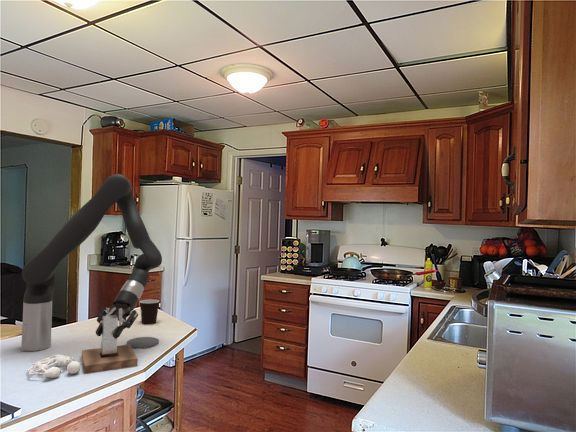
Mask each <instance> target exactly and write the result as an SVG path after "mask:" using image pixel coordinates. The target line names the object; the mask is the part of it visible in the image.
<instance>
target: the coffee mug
mask: <svg viewBox="0 0 576 432" xmlns="http://www.w3.org/2000/svg"><path fill="white" fill-rule="evenodd" d="M159 307H160V300H159V299H143V300H140V301H139V308H140V316H141V317H140V318H141V324H142V325H154V324H156V323H157V321H158V320H157V319H158V313H159Z"/></svg>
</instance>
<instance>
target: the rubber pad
mask: <svg viewBox="0 0 576 432" xmlns="http://www.w3.org/2000/svg"><path fill="white" fill-rule="evenodd" d="M159 343H160V339H158V338H156V337H153V336H142V337H141V336H140V337H139V336H138V337H133V338H130V339H129V340H127V341H126V345H129V344H130V346H131V347H132V349H136V348H142V349H148V348H149V349H150V348H152V347H153V348H154V347H156V346H157V345H159Z"/></svg>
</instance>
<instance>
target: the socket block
mask: <svg viewBox="0 0 576 432" xmlns="http://www.w3.org/2000/svg"><path fill="white" fill-rule="evenodd" d="M80 358H81V364H82V367H83V373H84V374H92V373H97V372H99V373H100V372H106V371H110V370H111V371H113V370H119V369H125V368H131V367H132V368H133V367H137V366H138V364H139V363H138V360H139V359H138V356H137V355H136V353H135V351H134V348H132V347H131V346H130V344H129V345H127V344H123V345H117V353H112V354H104V355H102V352H101V347H99V348H98V347H97V348H90V349H82V350H81V357H80Z"/></svg>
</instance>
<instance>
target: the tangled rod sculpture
mask: <svg viewBox="0 0 576 432" xmlns="http://www.w3.org/2000/svg"><path fill="white" fill-rule="evenodd" d="M31 365H32V366H31V367H29V368H28V369H27V372H28V375H29V376H35V375H43V376H44V377H46V378H51V379H55V378H58V377H59V375H60V374H63V373H64V371H63V370H61V369H60V368H59V367H66V371H67V372H68V373H69V374H71V375H73V374H76V373H78V372H79V371H80V369H81V366H82V362H79V361H76V360H74V357H73V356H72V357H70V356H67V355H63V354H59V353H57V354H54V355H51V356H49V357H44V358H43V359H41V360H38V361H36V362H32V363H31ZM54 365H55V366H54Z"/></svg>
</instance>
